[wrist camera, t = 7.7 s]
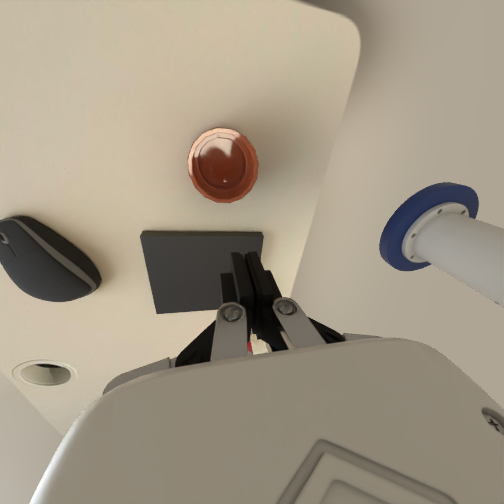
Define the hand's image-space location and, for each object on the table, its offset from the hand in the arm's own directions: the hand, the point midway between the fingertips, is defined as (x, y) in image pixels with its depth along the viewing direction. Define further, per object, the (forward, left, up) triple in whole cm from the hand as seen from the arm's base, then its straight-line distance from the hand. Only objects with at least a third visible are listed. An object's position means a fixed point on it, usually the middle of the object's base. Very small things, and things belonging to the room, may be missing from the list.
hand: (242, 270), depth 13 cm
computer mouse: (+21, +9, -16) cm, 28 cm away
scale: (+2, +12, -15) cm, 19 cm away
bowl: (0, -4, -15) cm, 16 cm away
